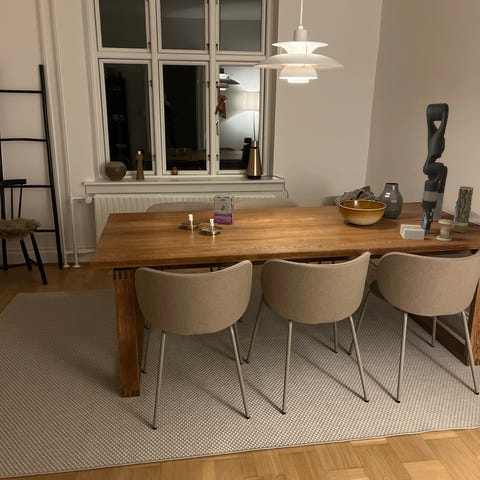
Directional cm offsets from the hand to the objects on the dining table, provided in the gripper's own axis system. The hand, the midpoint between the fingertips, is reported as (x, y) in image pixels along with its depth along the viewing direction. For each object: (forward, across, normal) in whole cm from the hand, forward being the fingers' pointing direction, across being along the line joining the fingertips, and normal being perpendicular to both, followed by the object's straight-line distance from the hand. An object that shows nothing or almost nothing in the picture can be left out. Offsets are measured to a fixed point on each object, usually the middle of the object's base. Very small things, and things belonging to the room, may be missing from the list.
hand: (426, 227), depth 260 cm
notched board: (+3, +8, -9) cm, 12 cm away
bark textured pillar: (+3, -7, +20) cm, 22 cm away
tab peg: (+3, 0, 0) cm, 3 cm away
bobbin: (+3, +10, +7) cm, 13 cm away
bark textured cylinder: (+3, -21, +24) cm, 32 cm away
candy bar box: (+4, -2, -114) cm, 114 cm away
